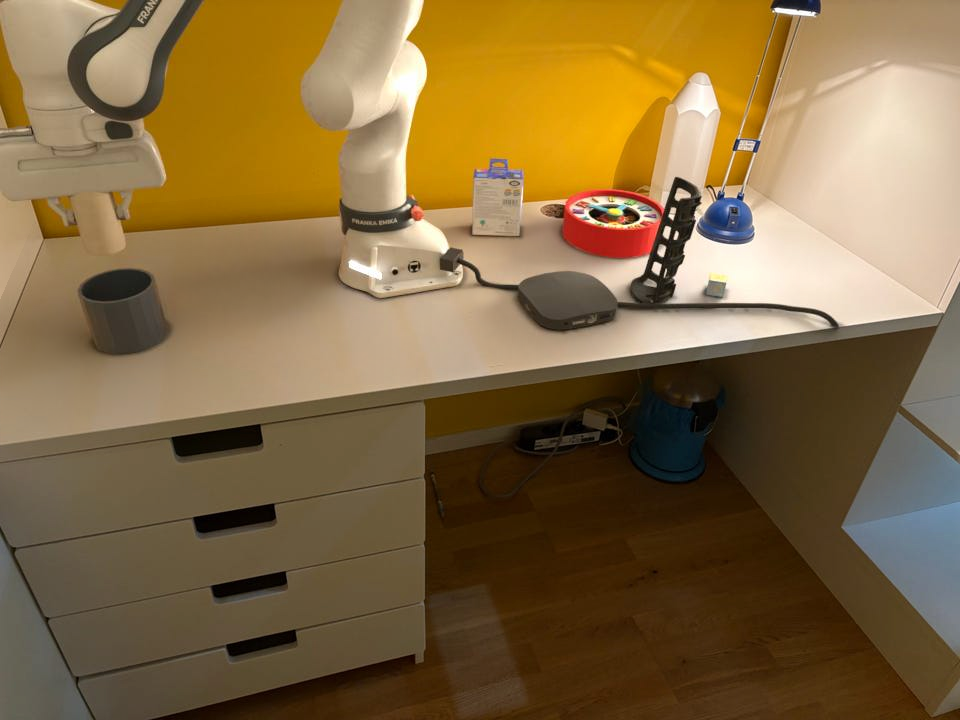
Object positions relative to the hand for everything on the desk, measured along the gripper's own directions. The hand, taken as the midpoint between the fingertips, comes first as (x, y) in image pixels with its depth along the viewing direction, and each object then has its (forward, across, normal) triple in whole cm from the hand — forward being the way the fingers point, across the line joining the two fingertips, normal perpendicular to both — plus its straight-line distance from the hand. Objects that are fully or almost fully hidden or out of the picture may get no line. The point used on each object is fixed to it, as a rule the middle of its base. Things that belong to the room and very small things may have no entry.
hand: (98, 221), depth 103 cm
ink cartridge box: (+19, +69, +19) cm, 74 cm away
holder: (+19, +86, -14) cm, 90 cm away
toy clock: (+19, +91, +10) cm, 93 cm away
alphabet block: (+19, +97, -17) cm, 100 cm away
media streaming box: (+19, +69, -13) cm, 73 cm away
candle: (+4, 0, 0) cm, 4 cm away
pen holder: (+19, 0, 0) cm, 19 cm away
